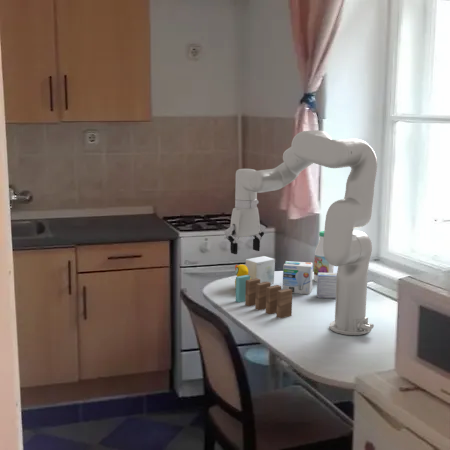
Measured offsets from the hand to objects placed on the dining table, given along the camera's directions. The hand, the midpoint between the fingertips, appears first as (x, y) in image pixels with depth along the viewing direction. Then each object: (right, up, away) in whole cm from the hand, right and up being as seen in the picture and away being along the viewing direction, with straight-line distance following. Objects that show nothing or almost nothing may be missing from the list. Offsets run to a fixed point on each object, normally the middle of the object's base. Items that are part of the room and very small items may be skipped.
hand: (245, 252), depth 246 cm
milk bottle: (+32, -13, +33) cm, 48 cm away
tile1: (+13, -21, -13) cm, 28 cm away
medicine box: (+31, -17, +10) cm, 37 cm away
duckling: (0, -16, +17) cm, 23 cm away
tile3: (+6, -19, -5) cm, 21 cm away
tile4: (+3, -19, 0) cm, 19 cm away
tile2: (+9, -20, -9) cm, 24 cm away
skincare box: (+6, -14, +26) cm, 30 cm away
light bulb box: (+20, -16, +17) cm, 31 cm away
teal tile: (-1, -18, +4) cm, 18 cm away
